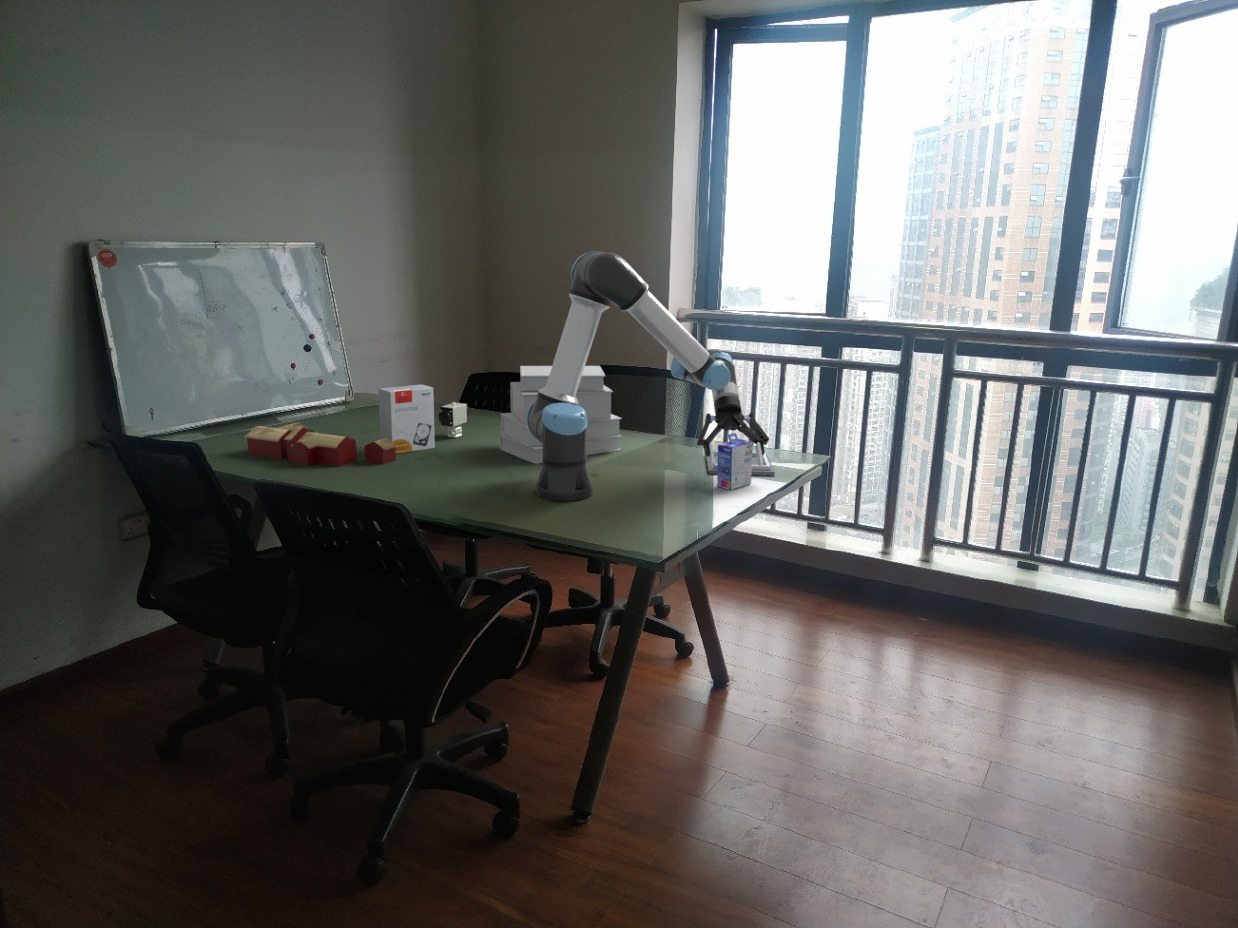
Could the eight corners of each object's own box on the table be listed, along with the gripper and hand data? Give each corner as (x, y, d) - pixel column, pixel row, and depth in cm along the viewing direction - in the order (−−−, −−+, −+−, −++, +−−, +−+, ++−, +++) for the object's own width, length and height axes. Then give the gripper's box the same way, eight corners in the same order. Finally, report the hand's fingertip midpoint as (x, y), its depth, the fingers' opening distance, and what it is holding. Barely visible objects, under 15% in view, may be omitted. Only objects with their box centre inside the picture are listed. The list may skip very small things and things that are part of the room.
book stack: (490, 447, 280) (488, 368, 273) (580, 434, 299) (580, 360, 293) (537, 468, 256) (536, 382, 249) (632, 452, 276) (633, 372, 269)
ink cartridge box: (735, 479, 247) (738, 430, 243) (752, 483, 243) (755, 433, 240) (715, 486, 240) (717, 435, 236) (731, 490, 236) (734, 439, 233)
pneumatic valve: (470, 434, 297) (469, 399, 294) (450, 441, 286) (449, 405, 283) (457, 432, 299) (456, 398, 296) (436, 439, 289) (435, 404, 286)
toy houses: (241, 457, 263) (238, 425, 261) (290, 443, 281) (288, 413, 279) (361, 475, 246) (359, 440, 244) (405, 459, 265) (403, 426, 262)
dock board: (708, 474, 252) (709, 466, 251) (706, 456, 272) (706, 448, 272) (774, 476, 251) (774, 468, 250) (766, 458, 271) (767, 450, 271)
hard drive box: (391, 455, 267) (388, 392, 262) (380, 450, 273) (376, 388, 267) (436, 448, 277) (433, 386, 272) (424, 443, 283) (421, 383, 277)
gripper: (765, 408, 253) (777, 471, 243) (681, 409, 250) (690, 472, 240) (771, 393, 247) (784, 457, 236) (686, 394, 244) (694, 459, 233)
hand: (737, 465), depth 238 cm, fingers open, 13 cm apart
